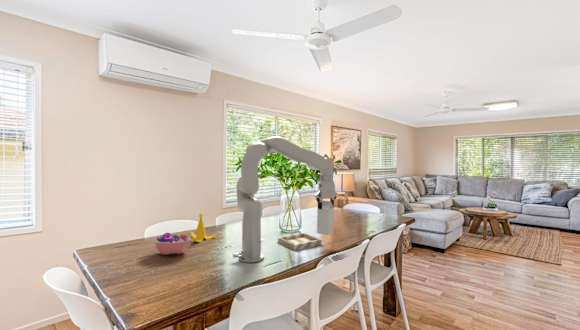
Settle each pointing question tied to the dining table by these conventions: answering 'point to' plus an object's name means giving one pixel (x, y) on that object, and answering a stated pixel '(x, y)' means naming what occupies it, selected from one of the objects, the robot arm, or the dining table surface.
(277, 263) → the dining table surface
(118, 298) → the dining table surface
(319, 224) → the milk carton
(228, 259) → the dining table surface
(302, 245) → the serving tray
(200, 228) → the banana peel
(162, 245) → the cell model
